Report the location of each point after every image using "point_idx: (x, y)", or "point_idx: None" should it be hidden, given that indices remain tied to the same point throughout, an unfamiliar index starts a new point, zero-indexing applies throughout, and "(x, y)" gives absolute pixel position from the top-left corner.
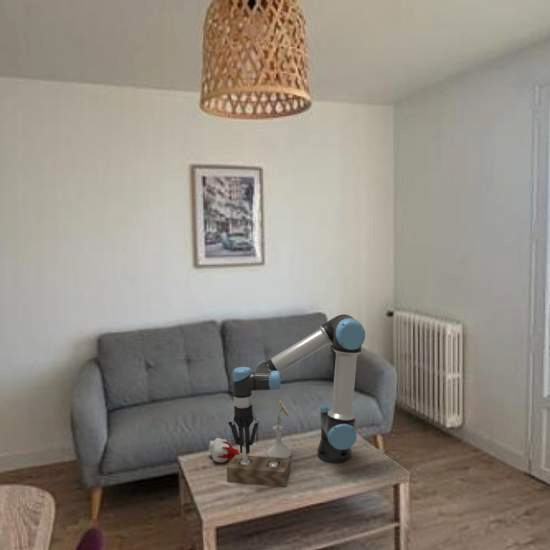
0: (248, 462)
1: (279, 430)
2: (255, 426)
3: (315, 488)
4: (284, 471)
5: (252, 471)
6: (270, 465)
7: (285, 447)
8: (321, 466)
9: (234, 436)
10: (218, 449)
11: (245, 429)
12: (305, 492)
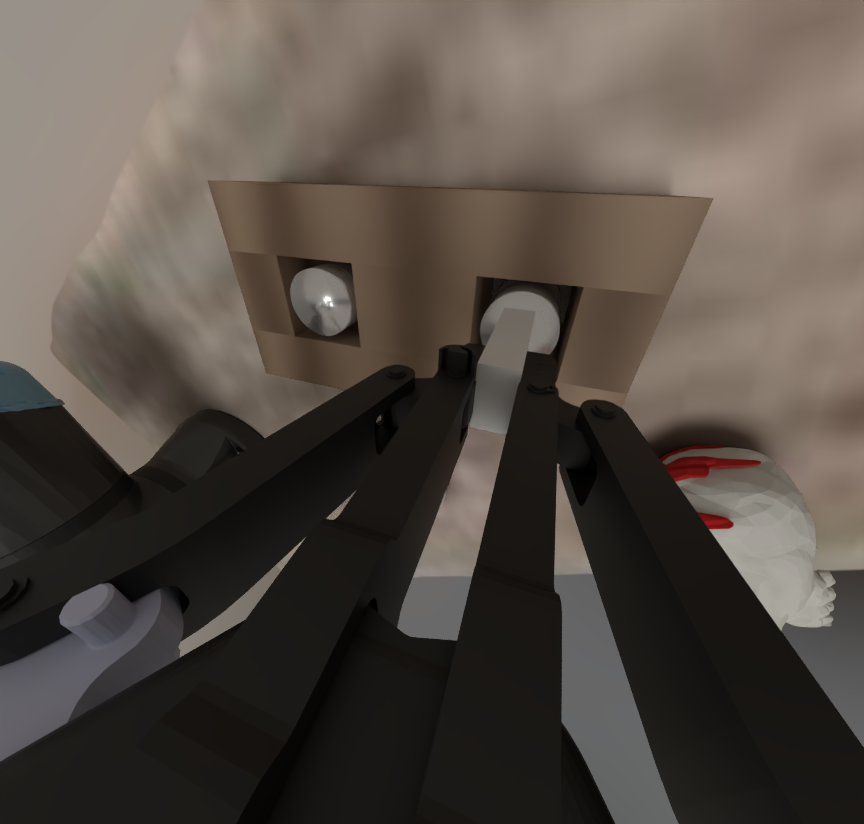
0: (489, 316)
1: None
2: (72, 562)
3: (160, 191)
4: (213, 194)
5: (439, 188)
6: (324, 276)
7: (353, 493)
8: (237, 390)
9: (660, 492)
10: (770, 514)
11: (348, 553)
12: (171, 131)
